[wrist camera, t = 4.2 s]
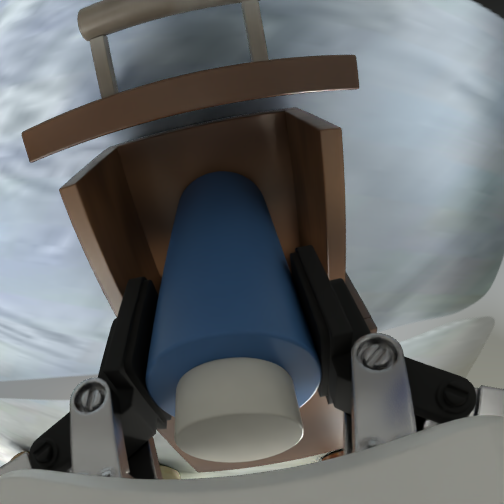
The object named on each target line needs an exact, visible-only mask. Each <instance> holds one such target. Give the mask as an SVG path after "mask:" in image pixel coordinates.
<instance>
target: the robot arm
mask: <svg viewBox="0 0 504 504" xmlns="http://www.w3.org/2000/svg"><path fill="white" fill-rule="evenodd" d="M290 260H291V270H292V279H293V282H294V284H295V287H296V290H297V293H298V296H299V299H300V302H301V305H302V308H303V311H304V314H305V317H306V320H307V323H308V326H309V329H310V332H311V335H312V338H313V341H314V344H315V347H316V350H317V353H318V357H319V360H320V363H321V370H322V376H321V382H320V384H319V387H318V393H319V396H320V397H324V396H326V399H327V402H328V405H329V404H333V405H334V408H337V409H339V410H341V411H343V456H340V457H336V458H332V459H328V460H324V461H320V462H315V463H311V464H306V465H301V466H296V467H291V468H285V469H280V470H274V471H267V472H261V473H253V474H246V475H237V476H227V477H215V478H200V479H163V477H162V473H161V469H160V465H159V461H158V457H157V453H156V448H155V444H154V439H153V437H152V436H154V435H155V434H156V429H167V420H171V418H172V415H170V414H168V413H167V412H165V411H164V410H162V409H161V408H160V407H159V406H158V405H157V404H156V403H155V402H154V401H153V400H152V398H151V396H150V395H149V392H148V390H147V387H146V381H145V378H146V370H147V363H148V356H149V349H150V343H151V336H152V330H153V324H154V318H155V313H156V307H157V301H158V293H157V291H156V289H155V286H154V284H153V282H152V280H147V278H146V277H144V276H143V277H138V278H132V279H129V280H128V283H127V286H126V289H125V292H124V296H123V299H122V302H121V305H120V309H119V312H118V315H117V318H116V319H115V320H114V321H113V323H112V326H111V330H110V333H109V337H108V340H107V344H106V348H105V351H104V355H103V359H102V363H101V367H100V371H99V375H98V378H90V379H87V380H84V381H83V382H81V383H80V384H79V385H78V386H77V387H76V388H75V389H74V391H73V393H72V395H71V399H70V412H69V413H68V414H67V415H65V416H64V417H63V418H62V419H61V420H59V421H58V422H57V423H56V424H55V425H53V426H52V427H51V428H50V429H48V430H47V431H46V432H45V433H44V434H42V435H41V436H40V437H39V438H37V440H36V441H35V442H34V443H33V445H32V447H31V449H30V453H27V452H25V453H23V454H22V455H20V456H18V457H17V458H15V459H13V460H11V461H10V462H8V463H6V464H5V465H3V466H1V467H0V504H504V389H500V388H494V387H488V386H482V385H481V386H480V388H474V387H473V385H472V384H471V383H470V382H469V381H468V380H467V379H465V378H463V377H461V376H458V375H455V374H452V373H450V372H447V371H444V370H441V369H438V368H435V367H432V366H429V365H426V364H423V363H421V362H418V361H415V360H412V359H409V358H407V357H404V354H403V350H402V347H401V345H400V344H399V343H398V341H397V340H396V339H394V338H393V337H391V336H389V335H386V334H382V333H372V334H371V332H370V330H369V328H368V326H367V324H366V322H365V320H364V318H363V316H362V314H361V312H360V310H359V308H358V306H357V304H356V303H355V301H354V299H353V297H352V295H351V293H350V291H349V289H348V287H347V285H346V284H345V282H344V280H343V279H342V278H338V279H334V280H329V278H328V276H327V274H326V272H325V270H324V268H323V266H322V264H321V262H320V260H319V258H318V256H317V254H316V252H315V250H314V248H313V246H312V245H307V246H302V247H297V248H295V252H294V253H290Z"/></svg>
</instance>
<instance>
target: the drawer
mask: <svg viewBox="0 0 504 504" xmlns="http://www.w3.org/2000/svg"><path fill="white" fill-rule="evenodd" d="M258 1H260V0H103V1H100V2H97V3H95V4H92V5H90V6H87V7H85V8H83V9H81V10H80V11H79V12H78V26H79V30H80V32H81V34H82V36H83V38H84V39H85V40H86V41H90V45H91V50H92V55H93V60H94V65H95V70H96V75H97V79H98V84H99V88H100V93H101V97H102V99H99V100H96V101H93V102H91V103H88V104H85V105H83V106H80V107H78V108H75V109H73V110H70V111H68V112H65V113H63V114H60V115H58V116H56V117H54V118H51V119H49V120H47V121H45V122H42V123H40V124H38V125H36V126H34V127H32V128H30V129H28V130H25V131H23V132H22V138H23V142H24V145H25V148H26V151H27V155H28V158H29V161H30V162H35V161H37V160H39V159H42V158H44V157H47V156H49V155H52V154H54V153H57V152H59V151H62V150H64V149H67V148H70V147H72V146H75V145H78V144H80V143H83V142H86V141H89V140H92V139H95V138H98V137H101V136H104V135H107V134H110V133H113V132H116V131H119V130H123V129H126V128H129V127H133V126H136V125H140V124H143V123H147V122H150V121H154V120H158V119H162V118H166V117H170V116H174V115H178V114H182V113H186V112H191V111H195V110H200V109H205V108H209V107H214V106H219V105H225V104H230V103H236V102H242V101H248V100H254V99H261V98H268V97H275V96H283V95H291V94H300V93H310V92H322V91H335V90H353V89H359V79H358V70H357V61H356V56H355V55H321V56H305V57H292V58H281V59H272V60H269V59H268V53H267V47H266V41H265V36H264V30H263V24H262V19H261V13H260V8H259V2H258ZM236 3H242V4H241V6H242V12H243V17H244V23H245V28H246V34H247V39H248V45H249V51H250V56H251V62H249V63H242V64H236V65H229V66H224V67H218V68H213V69H208V70H203V71H198V72H193V73H189V74H184V75H180V76H176V77H172V78H168V79H164V80H160V81H156V82H153V83H149V84H146V85H142V86H139V87H135V88H132V89H129V90H126V91H123V92H119V91H118V87H117V82H116V78H115V73H114V68H113V64H112V59H111V54H110V48H109V43H108V38H107V36H106V35H109V34H111V33H114V32H117V31H120V30H123V29H126V28H129V27H132V26H136V25H139V24H142V23H146V22H149V21H153V20H156V19H160V18H164V17H168V16H172V15H176V14H180V13H185V12H189V11H194V10H199V9H205V8H210V7H216V6H222V5H229V4H236ZM218 171H226V172H233V173H237V174H240V175H242V176H244V177H246V178H248V179H249V180H251V181H252V182H253V183H254V184H255V185H256V186H257V187H258V188H259V190H260V191H261V193H262V195H263V197H264V199H265V202H266V205H267V208H268V210H269V213H270V216H271V219H272V222H273V224H274V227H275V230H276V233H277V236H278V238H279V241H280V244H281V247H282V250H283V253H284V255H285V258H286V261H287V264H288V267H289V270H290V273H291V276H292V270H291V260H290V253H294V252H295V248H297V247H302V246H307V245H312V246H313V248H314V250H315V252H316V254H317V256H318V258H319V260H320V262H321V264H322V266H323V268H324V270H325V272H326V274H327V276H328V278H329V280H334V279H338V278H342V279H343V280H344V282H345V269H346V214H345V181H344V160H343V144H342V130H341V128H340V127H338V126H336V125H334V124H332V123H330V122H328V121H326V120H323V119H321V118H319V117H317V116H315V115H313V114H310V113H308V112H306V111H304V110H301V109H299V108H296V107H293V108H285V109H278V110H271V111H264V112H257V113H251V114H245V115H239V116H234V117H228V118H223V119H218V120H213V121H208V122H203V123H199V124H194V125H189V126H185V127H181V128H177V129H172V130H168V131H164V132H160V133H157V134H153V135H149V136H145V137H142V138H138V139H135V140H131V141H128V142H124V143H121V144H118V145H114V146H111V147H109V148H107V149H106V150H105V151H103V152H102V153H101V154H100V155H98V156H97V157H96V158H95V159H93V160H92V161H91V162H90V163H89V164H87V165H86V166H85V167H84V168H83V169H81V170H80V171H79V172H78V173H77V174H76V175H75V176H73V177H72V178H71V179H70V180H69V181H68V182H67V183H65V184H64V185H63V186H62V187H61V188H60V189H59V191H60V194H61V197H62V199H63V202H64V205H65V207H66V210H67V212H68V215H69V217H70V220H71V222H72V225H73V227H74V230H75V232H76V234H77V237H78V239H79V241H80V244H81V246H82V248H83V250H84V253H85V255H86V257H87V259H88V261H89V263H90V266H91V268H92V270H93V272H94V274H95V276H96V278H97V280H98V282H99V284H100V286H101V288H102V290H103V292H104V294H105V296H106V298H107V300H108V302H109V304H110V306H111V308H112V309H113V311H114V313H115V315H116V317H117V315H118V312H119V309H120V305H121V302H122V299H123V296H124V292H125V289H126V286H127V283H128V280H129V279H132V278H138V277H143V276H144V277H146V278H147V280H152V282H153V284H154V286H155V289H156V291H157V293H158V296H159V291H160V285H161V280H162V275H163V270H164V265H165V261H166V256H167V251H168V247H169V242H170V238H171V233H172V229H173V224H174V220H175V216H176V212H177V208H178V203H179V200H180V198H181V195H182V194H183V192H184V190H185V189H186V188H187V187H188V186H189V185H190V184H191V183H192V182H193V181H194V180H196V179H197V178H199V177H201V176H203V175H205V174H208V173H212V172H218Z"/></svg>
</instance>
